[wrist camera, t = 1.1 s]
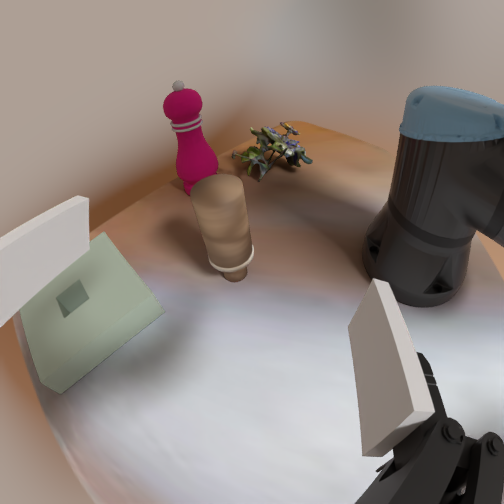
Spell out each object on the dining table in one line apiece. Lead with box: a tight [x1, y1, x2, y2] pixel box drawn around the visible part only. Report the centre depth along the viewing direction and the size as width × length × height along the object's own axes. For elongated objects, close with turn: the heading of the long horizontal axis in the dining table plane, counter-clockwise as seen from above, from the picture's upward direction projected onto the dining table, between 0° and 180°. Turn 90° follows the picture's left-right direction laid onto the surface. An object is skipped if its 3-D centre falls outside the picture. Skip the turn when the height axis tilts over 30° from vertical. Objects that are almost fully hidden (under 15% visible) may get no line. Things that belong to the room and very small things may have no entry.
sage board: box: [19, 232, 165, 394], centre depth 34 cm, size 18×16×4 cm
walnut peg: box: [190, 174, 254, 282], centre depth 33 cm, size 5×5×13 cm
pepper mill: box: [163, 81, 218, 195], centre depth 44 cm, size 7×7×20 cm
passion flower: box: [232, 122, 313, 182], centre depth 50 cm, size 11×11×12 cm
